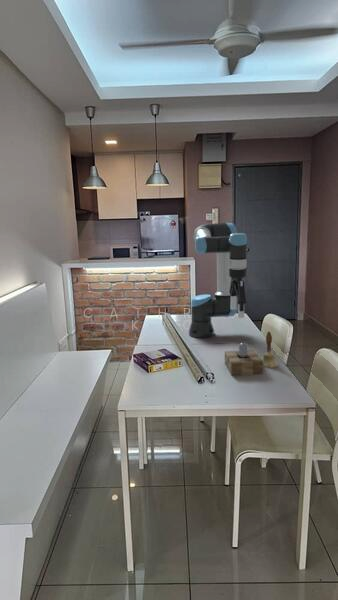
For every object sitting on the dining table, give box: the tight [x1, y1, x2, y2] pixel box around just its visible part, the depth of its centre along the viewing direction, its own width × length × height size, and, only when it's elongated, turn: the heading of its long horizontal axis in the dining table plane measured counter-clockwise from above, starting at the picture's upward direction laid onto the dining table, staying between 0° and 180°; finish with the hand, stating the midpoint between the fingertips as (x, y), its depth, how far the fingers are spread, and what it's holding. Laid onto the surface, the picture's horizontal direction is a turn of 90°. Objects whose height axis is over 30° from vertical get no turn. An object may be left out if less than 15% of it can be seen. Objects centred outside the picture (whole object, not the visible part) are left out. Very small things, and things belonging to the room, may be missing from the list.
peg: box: [238, 342, 248, 359], centre depth 167 cm, size 4×4×12 cm
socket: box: [224, 349, 264, 377], centre depth 167 cm, size 14×14×6 cm
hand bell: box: [262, 331, 279, 369], centre depth 170 cm, size 8×8×16 cm
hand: (236, 313), depth 170 cm, fingers open, 13 cm apart
